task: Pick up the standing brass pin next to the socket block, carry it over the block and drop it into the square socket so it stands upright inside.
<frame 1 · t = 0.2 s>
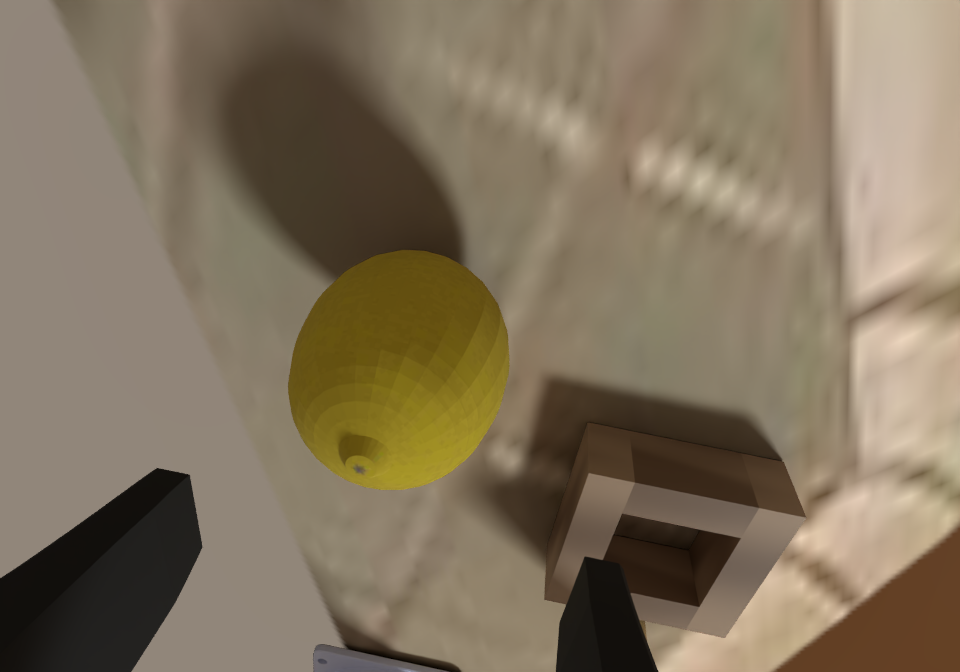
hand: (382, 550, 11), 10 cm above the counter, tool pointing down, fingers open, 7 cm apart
socket block: (654, 507, 23), on the counter
lemon: (436, 288, 19), on the counter
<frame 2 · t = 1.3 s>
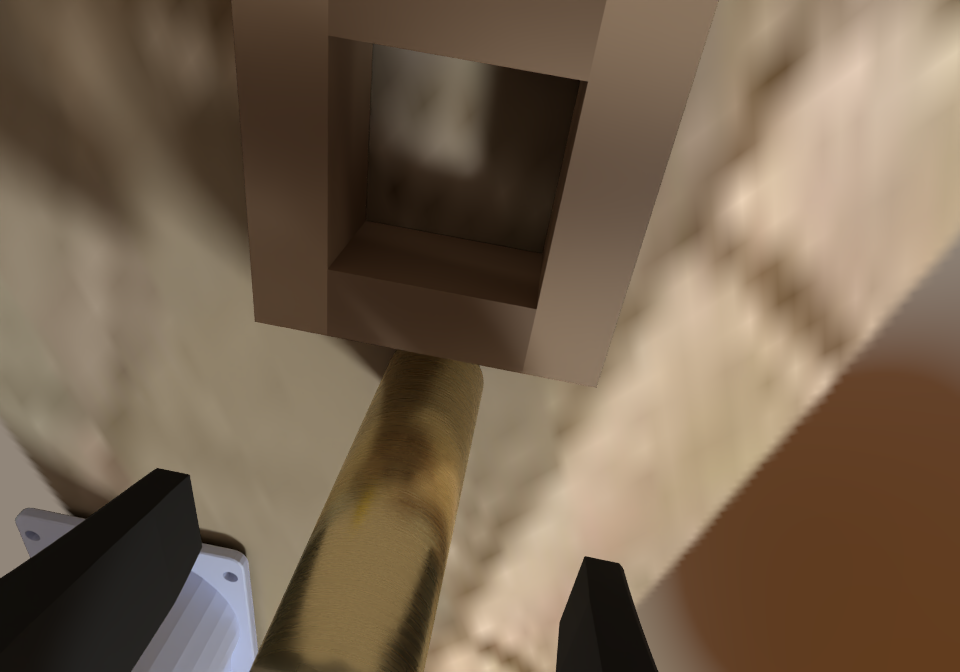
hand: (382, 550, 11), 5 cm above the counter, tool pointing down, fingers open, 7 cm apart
socket block: (465, 147, 12), on the counter
brass pin: (435, 378, 15), on the counter
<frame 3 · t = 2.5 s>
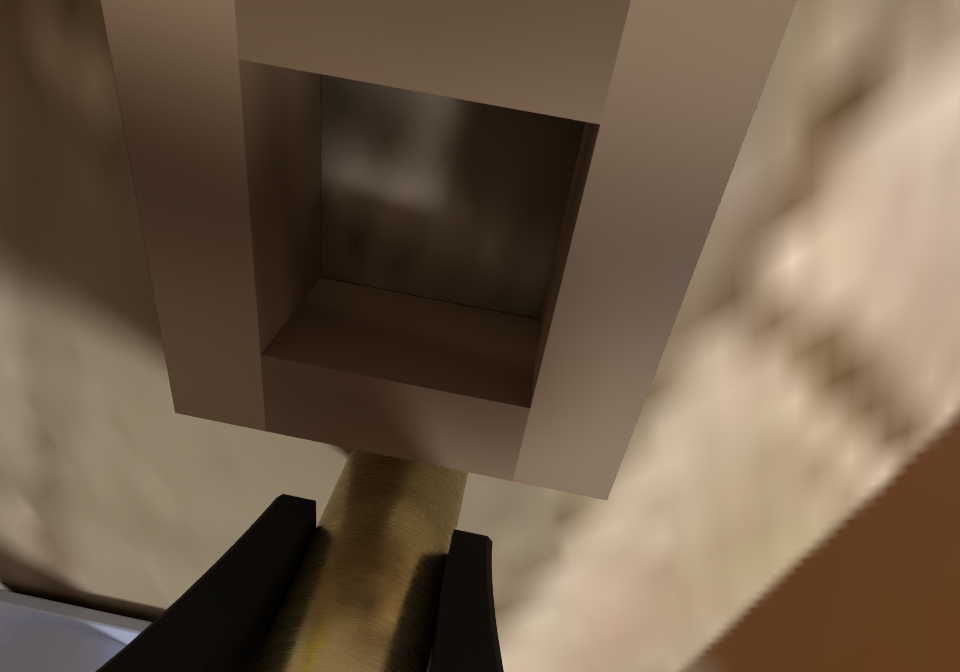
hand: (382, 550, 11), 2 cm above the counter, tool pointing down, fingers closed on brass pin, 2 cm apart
socket block: (441, 192, 10), on the counter
brass pin: (412, 457, 13), on the counter, touching gripper
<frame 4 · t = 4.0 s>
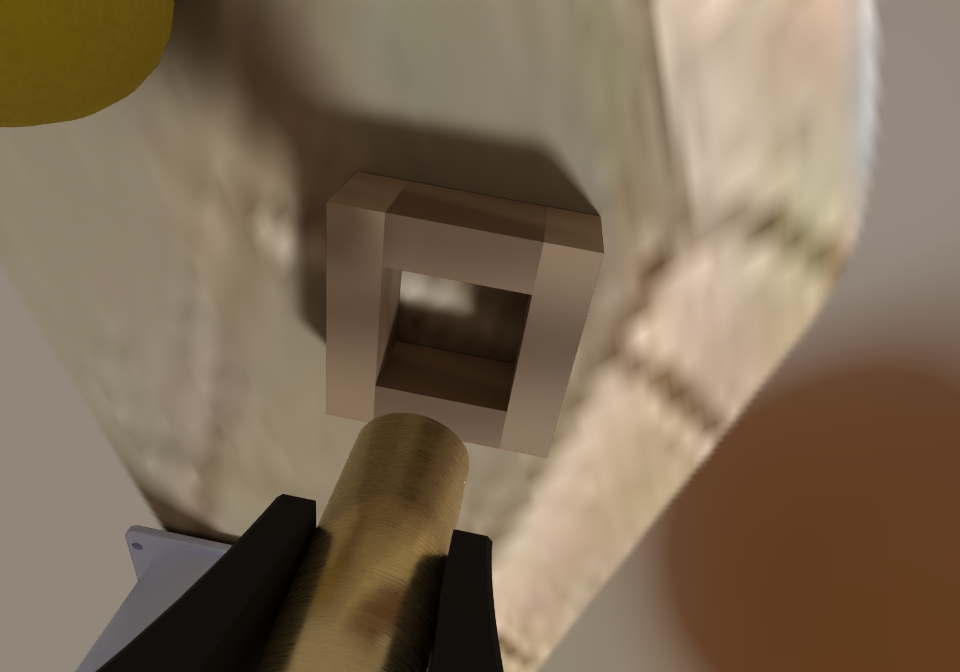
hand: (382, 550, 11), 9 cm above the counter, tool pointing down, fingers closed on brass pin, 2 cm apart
socket block: (462, 300, 19), on the counter
brass pin: (412, 457, 13), point 7 cm above the counter, touching gripper
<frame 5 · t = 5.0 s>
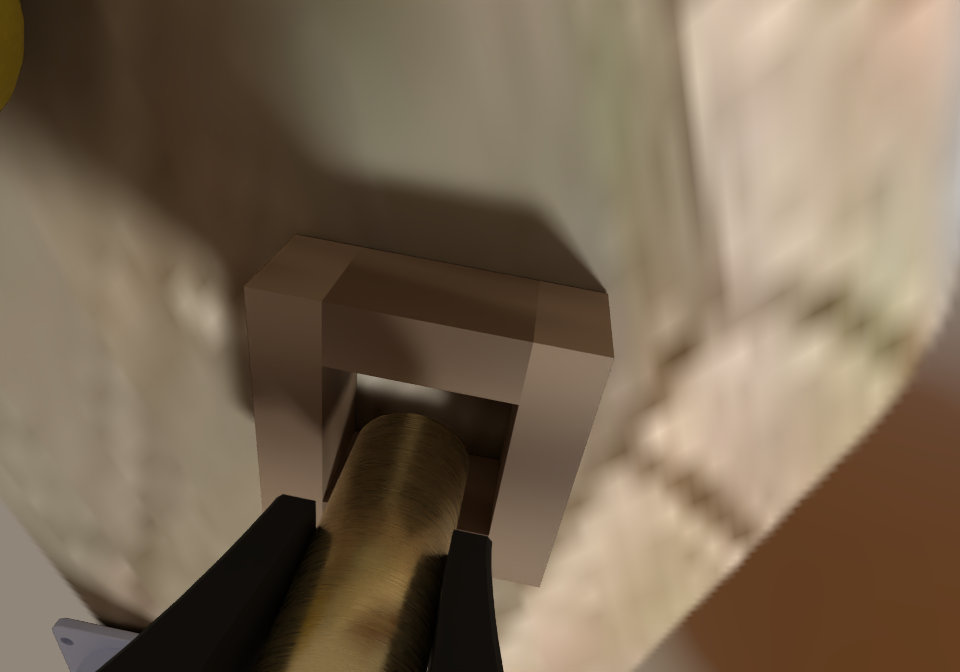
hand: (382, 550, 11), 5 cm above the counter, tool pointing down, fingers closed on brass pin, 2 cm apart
socket block: (434, 388, 15), on the counter
brass pin: (412, 457, 13), point 3 cm above the counter, touching gripper
when the fingers open (3 cm above the counter, at t = 5.7 s): brass pin stays where it is, resting in socket block.
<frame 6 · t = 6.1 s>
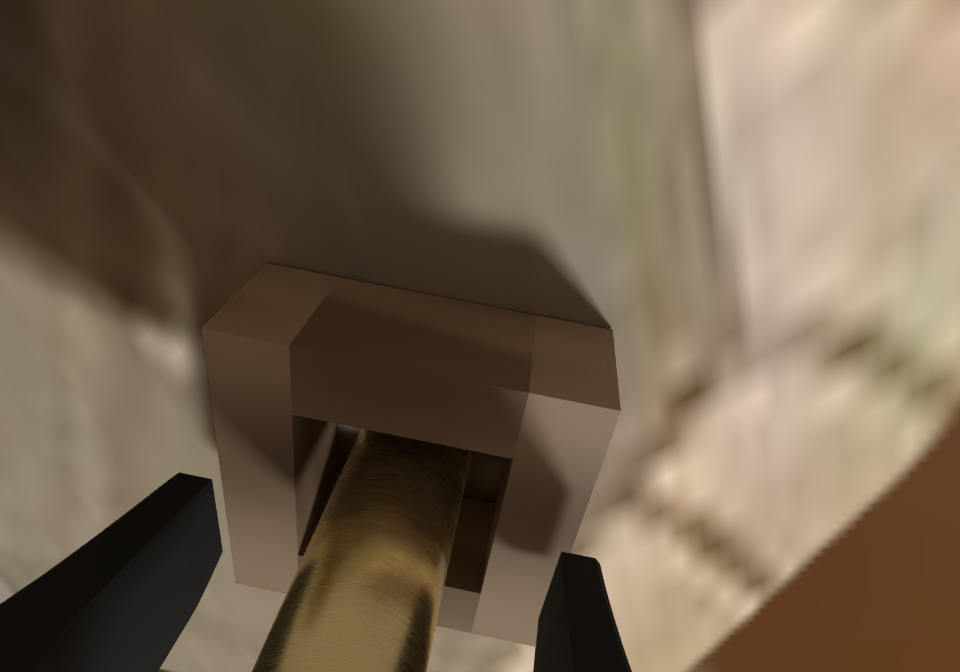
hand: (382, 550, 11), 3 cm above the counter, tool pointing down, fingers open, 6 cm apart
socket block: (422, 427, 14), on the counter
brass pin: (421, 427, 14), resting in socket block
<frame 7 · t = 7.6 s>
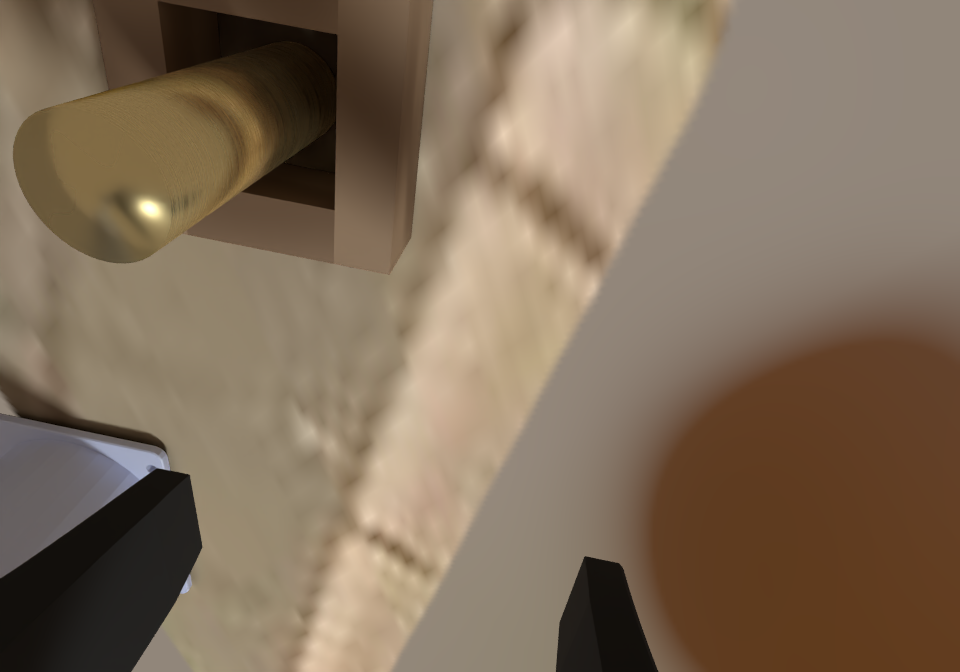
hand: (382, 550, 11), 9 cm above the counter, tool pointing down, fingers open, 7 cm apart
socket block: (294, 92, 16), on the counter
brass pin: (294, 92, 16), resting in socket block
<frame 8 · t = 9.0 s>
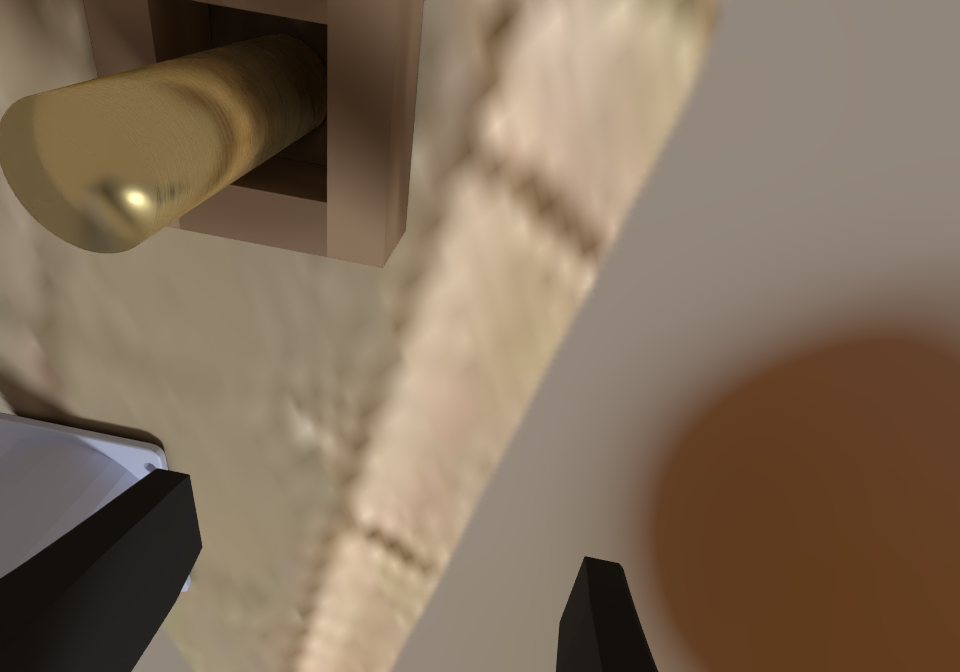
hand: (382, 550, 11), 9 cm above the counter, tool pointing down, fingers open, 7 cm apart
socket block: (286, 85, 16), on the counter
brass pin: (286, 85, 16), resting in socket block
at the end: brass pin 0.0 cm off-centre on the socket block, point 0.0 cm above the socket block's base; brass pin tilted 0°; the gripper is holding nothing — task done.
